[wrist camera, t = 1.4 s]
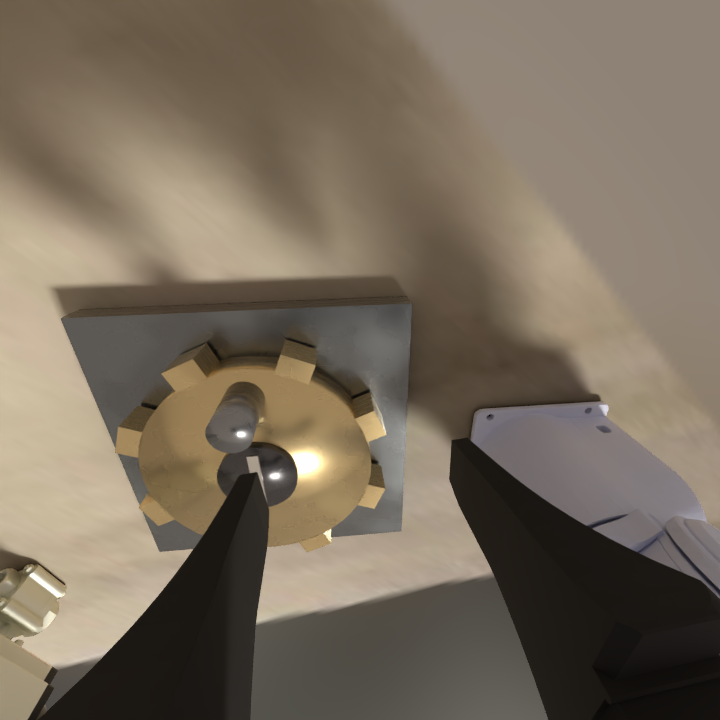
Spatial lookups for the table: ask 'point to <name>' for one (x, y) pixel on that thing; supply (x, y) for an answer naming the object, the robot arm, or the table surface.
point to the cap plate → (255, 338)
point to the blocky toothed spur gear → (256, 443)
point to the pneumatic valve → (7, 658)
